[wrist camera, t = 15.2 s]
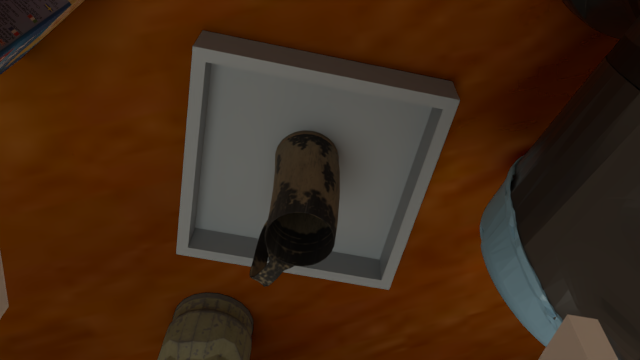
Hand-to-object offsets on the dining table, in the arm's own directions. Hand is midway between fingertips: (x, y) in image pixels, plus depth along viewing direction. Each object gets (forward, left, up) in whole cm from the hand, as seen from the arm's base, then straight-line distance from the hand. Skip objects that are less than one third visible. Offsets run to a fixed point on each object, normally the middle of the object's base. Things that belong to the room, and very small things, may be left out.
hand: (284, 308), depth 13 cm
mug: (-1, +16, -32) cm, 36 cm away
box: (-2, +16, -33) cm, 36 cm away
